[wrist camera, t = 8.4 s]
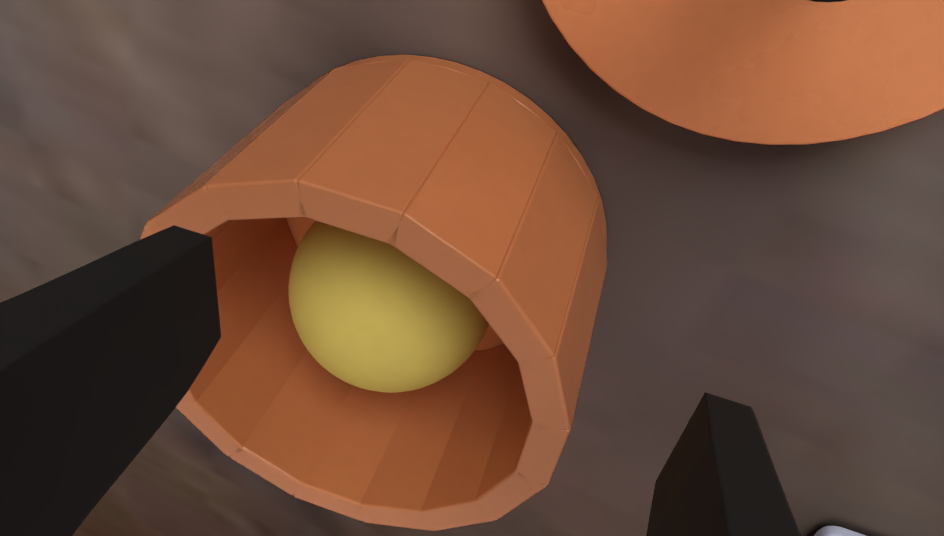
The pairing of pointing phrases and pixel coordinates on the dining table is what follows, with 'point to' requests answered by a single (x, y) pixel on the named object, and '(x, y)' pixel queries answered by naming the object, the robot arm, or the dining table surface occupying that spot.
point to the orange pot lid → (766, 63)
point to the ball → (378, 313)
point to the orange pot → (435, 248)
